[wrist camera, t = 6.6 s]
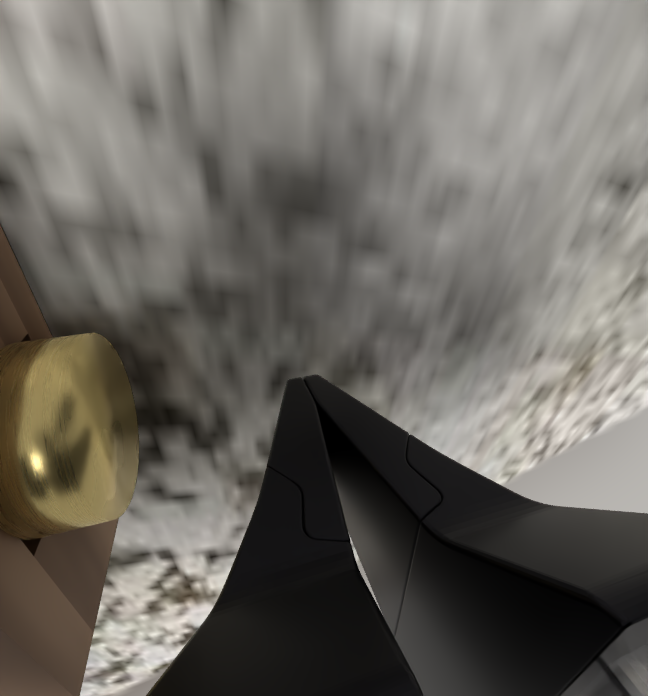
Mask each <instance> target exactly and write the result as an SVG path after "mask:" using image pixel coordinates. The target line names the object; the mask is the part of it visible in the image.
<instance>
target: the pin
mask: <svg viewBox="0 0 648 696" xmlns="http://www.w3.org/2000/svg"><path fill="white" fill-rule="evenodd" d="M138 463H139V434H138V423H137V415H136V408H135V403H134V398H133V394H132V389H131V386H130V382H129V379H128V376H127V373H126V371H125V368H124V366H123V363H122V361H121V359H120V357H119V355H118V354H117V352H116V350H115V349H114V347H113V346H112V344H111V343H110V342H109V341H108V340H107V339H106V338H105V337H103V336H102V335H100V334H97V333H86V334H78V335H70V336H63V337H55V338H47V339H39V340H32V341H24V342H16V343H12V344H9V345H6V346H4V347H3V348H1V349H0V528H1V529H2V530H3V531H5V532H6V533H8V534H9V535H11V536H13V537H16V538H18V539H24V540H34V539H38V538H42V537H46V536H50V535H55V534H59V533H63V532H67V531H71V530H75V529H79V528H83V527H87V526H91V525H95V524H99V523H103V522H107V521H111V520H115V519H117V518H119V517H120V516H121V515H122V514H123V513H124V512H125V511H126V509H127V508H128V506H129V504H130V501H131V499H132V496H133V493H134V489H135V485H136V480H137V474H138Z"/></svg>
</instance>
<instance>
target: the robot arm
mask: <svg viewBox="0 0 648 696" xmlns="http://www.w3.org/2000/svg"><path fill="white" fill-rule="evenodd" d="M348 532H349V533H348ZM349 535H350V537H351V539H352V542H353V544H354V547H355V549H356V551H357V554H358V556H359V559H360V561H361V563H362V566H363V568H364V571H365V573H366V575H367V578H368V580H369V583H370V585H371V587H372V590H373V592H374V595H375V597H376V600H377V602H378V604H379V607H380V609H381V611H382V613H381V611H380V609H379V608H378V606H377V604H376V602H375V600H374V598H373V597H372V594H371V592H370V591H369V589H368V587H367V585H366V583H365V581H364V579H363V577H362V575H361V573H360V571H359V569H358V566H357V563H356V560H355V557H354V553H353V550H352V546H351V544H350V537H349ZM382 614H383V615H382ZM383 616H384V617H383ZM146 696H648V514H647V513H635V512H622V511H610V510H598V509H585V508H574V507H561V506H553V505H548V504H543V503H539V502H536V501H533V500H531V499H528V498H525V497H523V496H521V495H519V494H517V493H514V492H513V491H511V490H509V489H507V488H505V487H503V486H501V485H499V484H498V483H496V482H494V481H492V480H490V479H488V478H486V477H484V476H482V475H480V474H478V473H477V472H475V471H473V470H471V469H469V468H467V467H465V466H463V465H461V464H460V463H458V462H456V461H454V460H452V459H450V458H449V457H447V456H445V455H443V454H441V453H440V452H438V451H436V450H435V449H433V448H432V447H430V446H428V445H427V444H425V443H423V442H422V441H420V440H419V439H417V438H416V437H414V436H412V435H409V433H408V432H406V431H405V430H403V429H401V428H400V427H398V426H397V425H395V424H394V423H392V422H391V421H389V420H387V419H386V418H384V417H383V416H381V415H380V414H378V413H377V412H375V411H373V410H372V409H370V408H369V407H367V406H366V405H364V404H363V403H361V402H360V401H358V400H356V399H355V398H353V397H352V396H350V395H349V394H347V393H346V392H344V391H342V390H341V389H339V388H338V387H336V386H335V385H333V384H332V383H330V382H329V381H327V380H325V379H324V378H322V377H321V376H319V375H311V376H305V377H304V378H303V379H302V378H294V379H289V380H287V382H286V386H285V390H284V395H283V399H282V403H281V407H280V412H279V416H278V420H277V425H276V429H275V433H274V437H273V442H272V446H271V450H270V455H269V459H268V463H267V468H266V471H265V475H264V479H263V483H262V487H261V490H260V494H259V497H258V501H257V504H256V506H255V509H254V512H253V515H252V518H251V520H250V523H249V526H248V528H247V530H246V533H245V535H244V538H243V540H242V543H241V545H240V548H239V550H238V553H237V555H236V558H235V560H234V563H233V565H232V568H231V570H230V573H229V575H228V578H227V580H226V582H225V585H224V587H223V589H222V591H221V594H220V596H219V598H218V600H217V602H216V604H215V605H214V607H213V609H212V611H211V612H210V614H209V615H208V617H207V618H206V620H205V621H204V622H203V624H202V625H201V626H200V627H199V629H198V630H197V631H196V632H195V634H194V635H193V636H192V638H191V639H190V640H189V641H188V643H187V644H186V645H185V646H184V648H183V649H182V650H181V652H180V653H179V654H178V655H177V657H176V658H175V659H174V660H173V662H172V663H171V664H170V666H169V667H168V668H167V669H166V671H165V672H164V673H163V675H162V676H161V677H160V679H159V680H158V681H157V682H156V683H155V685H154V686H153V687H152V689H151V690H150V691H149V692H148V694H147V695H146Z"/></svg>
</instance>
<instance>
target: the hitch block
mask: <svg viewBox="0 0 648 696" xmlns="http://www.w3.org/2000/svg"><path fill="white" fill-rule="evenodd" d="M47 338H53V337H52V335H51V333H50V331H49V328H48V326H47V324H46V322H45V320H44V318H43V315H42V313H41V311H40V309H39V307H38V305H37V303H36V300H35V298H34V296H33V294H32V292H31V290H30V288H29V285H28V283H27V281H26V279H25V277H24V275H23V273H22V270H21V268H20V266H19V264H18V262H17V260H16V258H15V255H14V253H13V251H12V249H11V247H10V245H9V242H8V240H7V238H6V236H5V234H4V232H3V230H2V227H1V225H0V349H1V348H3V347H4V346H6V345H9V344H12V343H16V342H24V341H32V340H39V339H47ZM118 519H119V518H117V519H115V520H111V521H107V522H103V523H99V524H95V525H91V526H87V527H83V528H79V529H75V530H71V531H67V532H63V533H59V534H55V535H50V536H46V537H42V538H38V539H34V540H24V539H18V538H16V537H13V536H11V535H9V534H8V533H6V532H5V531H3V530H2V529H1V528H0V696H80V691H81V687H82V682H83V678H84V673H85V669H86V664H87V660H88V655H89V651H90V646H91V641H92V637H93V632H94V628H95V623H96V619H97V614H98V610H99V605H100V601H101V596H102V591H103V587H104V582H105V578H106V573H107V569H108V564H109V560H110V555H111V551H112V546H113V541H114V537H115V532H116V528H117V523H118Z"/></svg>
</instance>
